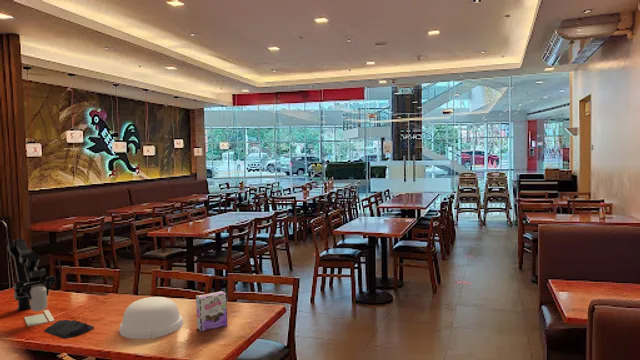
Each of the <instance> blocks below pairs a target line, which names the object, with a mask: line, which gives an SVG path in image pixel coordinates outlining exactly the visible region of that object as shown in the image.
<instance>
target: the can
mask: <svg viewBox="0 0 640 360" xmlns="http://www.w3.org/2000/svg"><path fill="white" fill-rule="evenodd" d="M30 295H31V300H30V305H31V309H30V310H32V311H33V312H41V311H44V310H47V308H48V296H47V291H46V288H45V285H44V284H41V285H35V286H32V288H31V290H30Z"/></svg>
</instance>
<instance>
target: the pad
mask: <svg viewBox="0 0 640 360" xmlns="http://www.w3.org/2000/svg"><path fill="white" fill-rule="evenodd" d="M24 322H25V323H26V326H27V327H32V326H36V325H43V324H45V323H46V324H47V323H48V322H49V320H48V318H47V317H46V315H45V313H40V314H39V313H38V314H34V315H29V316H24Z"/></svg>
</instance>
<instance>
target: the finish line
mask: <svg viewBox="0 0 640 360" xmlns="http://www.w3.org/2000/svg"><path fill="white" fill-rule="evenodd" d="M43 314H44V316H45V317H46V319H47V321H48V322H49V323H52V322H56V321H55V318H54V316H53V315H52V313H51V312H50V310H49V309H44V310H43Z"/></svg>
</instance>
